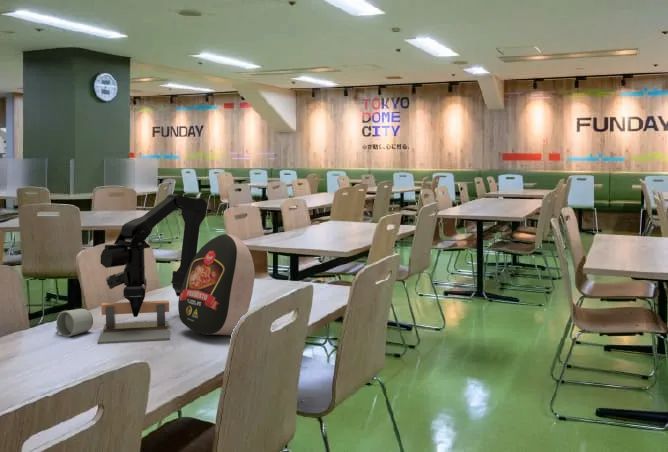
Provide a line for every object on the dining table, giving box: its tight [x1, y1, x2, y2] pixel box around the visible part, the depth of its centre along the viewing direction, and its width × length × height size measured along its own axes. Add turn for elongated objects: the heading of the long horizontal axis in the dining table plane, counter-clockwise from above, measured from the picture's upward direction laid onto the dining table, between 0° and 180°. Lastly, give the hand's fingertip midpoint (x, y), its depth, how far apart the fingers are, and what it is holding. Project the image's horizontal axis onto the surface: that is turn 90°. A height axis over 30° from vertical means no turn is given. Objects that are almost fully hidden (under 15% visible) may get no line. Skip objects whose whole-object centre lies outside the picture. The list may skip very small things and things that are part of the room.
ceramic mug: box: [55, 308, 94, 338], centre depth 207 cm, size 11×8×8 cm
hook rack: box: [102, 304, 169, 333], centre depth 213 cm, size 19×7×8 cm, turn 104°
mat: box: [97, 328, 171, 345], centre depth 203 cm, size 20×10×1 cm, turn 104°
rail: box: [100, 299, 170, 316], centre depth 213 cm, size 20×3×3 cm, turn 104°
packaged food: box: [177, 233, 256, 336], centre depth 207 cm, size 22×20×30 cm
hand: (136, 313), depth 213 cm, fingers open, 9 cm apart
